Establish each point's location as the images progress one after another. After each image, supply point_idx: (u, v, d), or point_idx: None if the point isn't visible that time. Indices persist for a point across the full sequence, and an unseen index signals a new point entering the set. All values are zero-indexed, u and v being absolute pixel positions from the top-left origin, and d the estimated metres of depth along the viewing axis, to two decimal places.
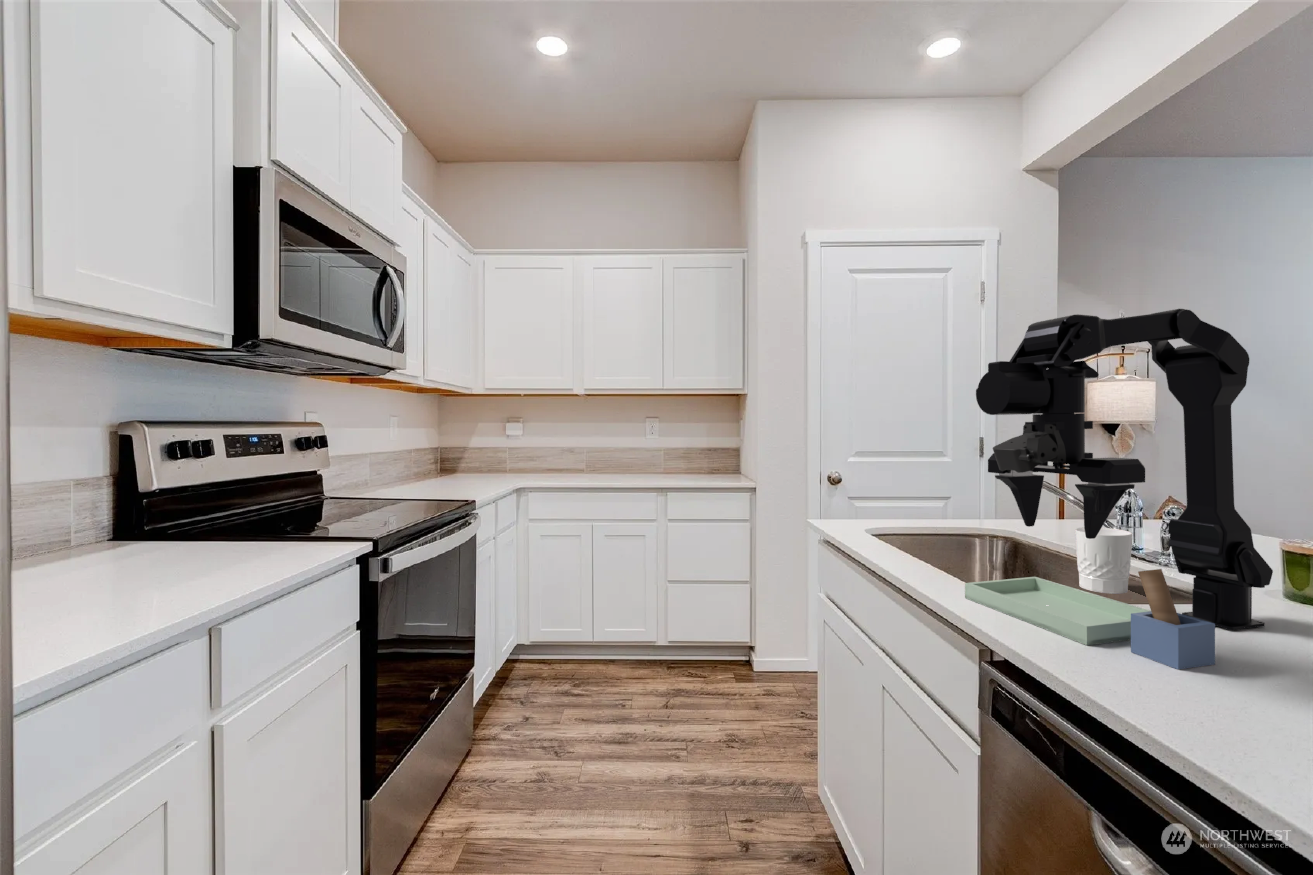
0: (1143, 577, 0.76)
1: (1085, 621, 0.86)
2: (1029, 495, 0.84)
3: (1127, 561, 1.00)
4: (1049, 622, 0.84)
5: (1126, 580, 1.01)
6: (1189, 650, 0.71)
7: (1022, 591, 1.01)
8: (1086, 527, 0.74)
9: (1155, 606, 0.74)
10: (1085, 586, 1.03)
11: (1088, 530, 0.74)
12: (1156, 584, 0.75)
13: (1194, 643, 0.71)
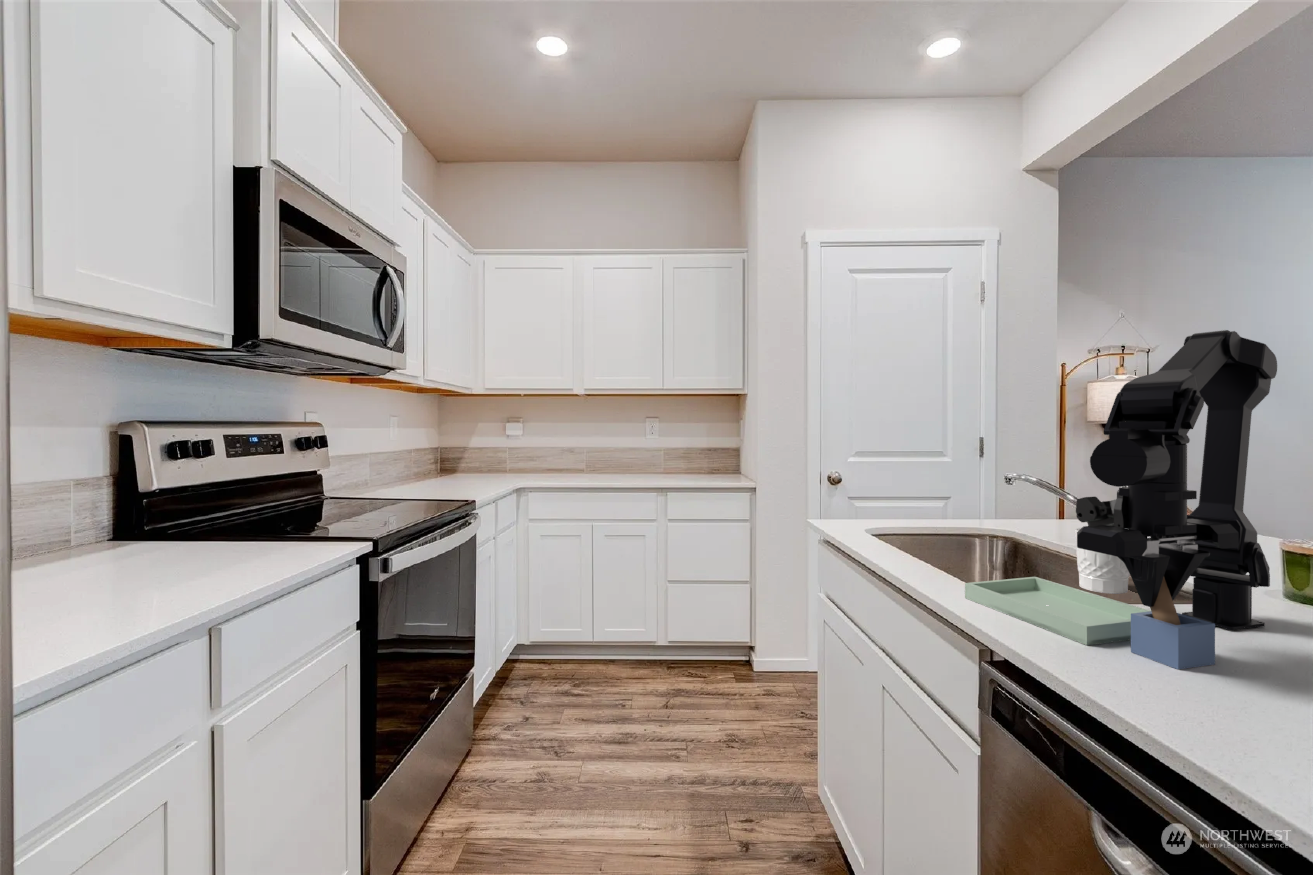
0: None
1: (1085, 621, 0.86)
2: (1167, 570, 0.75)
3: None
4: (1049, 622, 0.84)
5: (1126, 580, 1.01)
6: (1189, 650, 0.71)
7: (1022, 591, 1.01)
8: None
9: (1155, 606, 0.74)
10: (1085, 586, 1.03)
11: None
12: None
13: (1194, 643, 0.71)
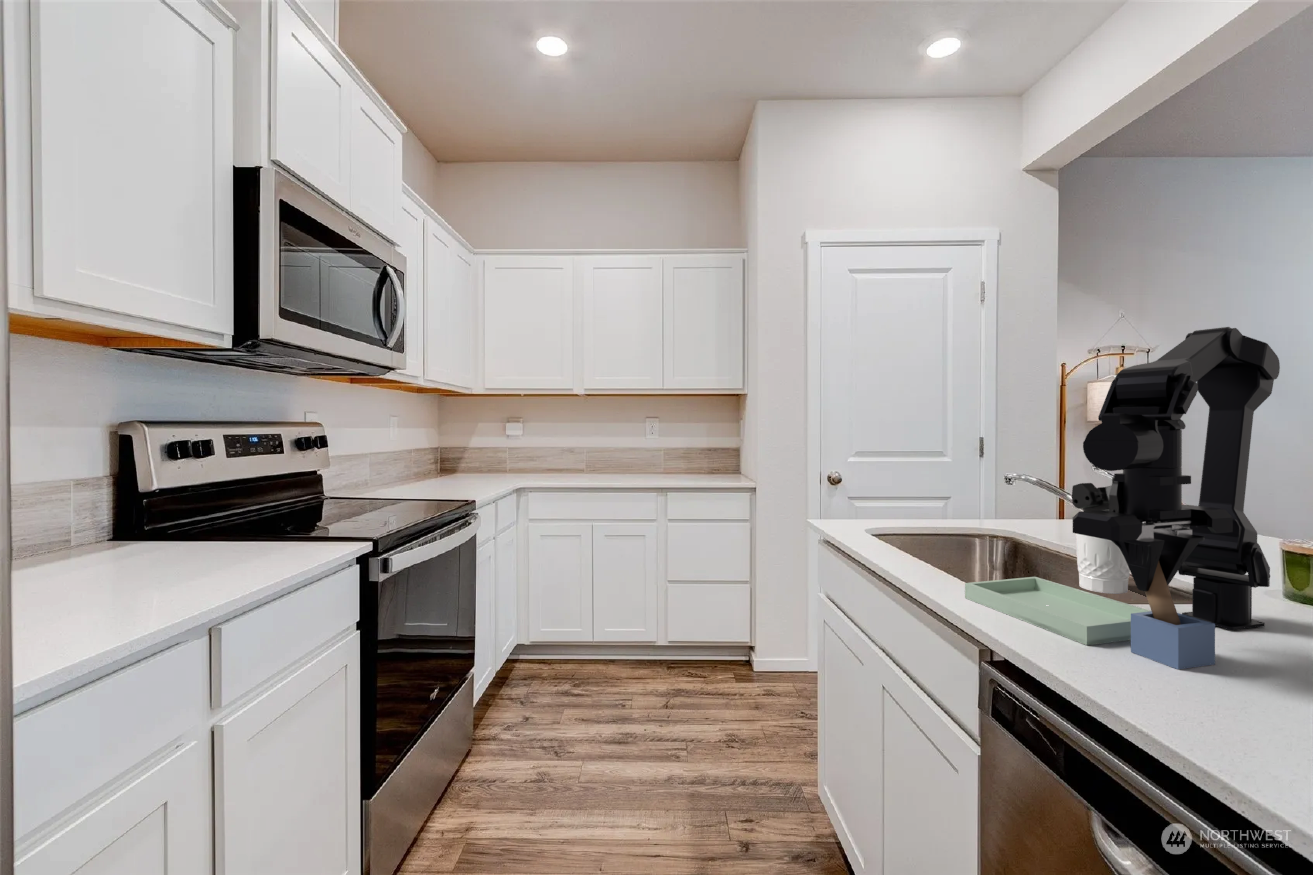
0: None
1: (1085, 621, 0.86)
2: (1162, 555, 0.76)
3: None
4: (1049, 622, 0.84)
5: (1126, 580, 1.01)
6: (1189, 650, 0.71)
7: (1022, 591, 1.01)
8: None
9: (1150, 591, 0.75)
10: (1085, 586, 1.03)
11: None
12: None
13: (1194, 643, 0.71)
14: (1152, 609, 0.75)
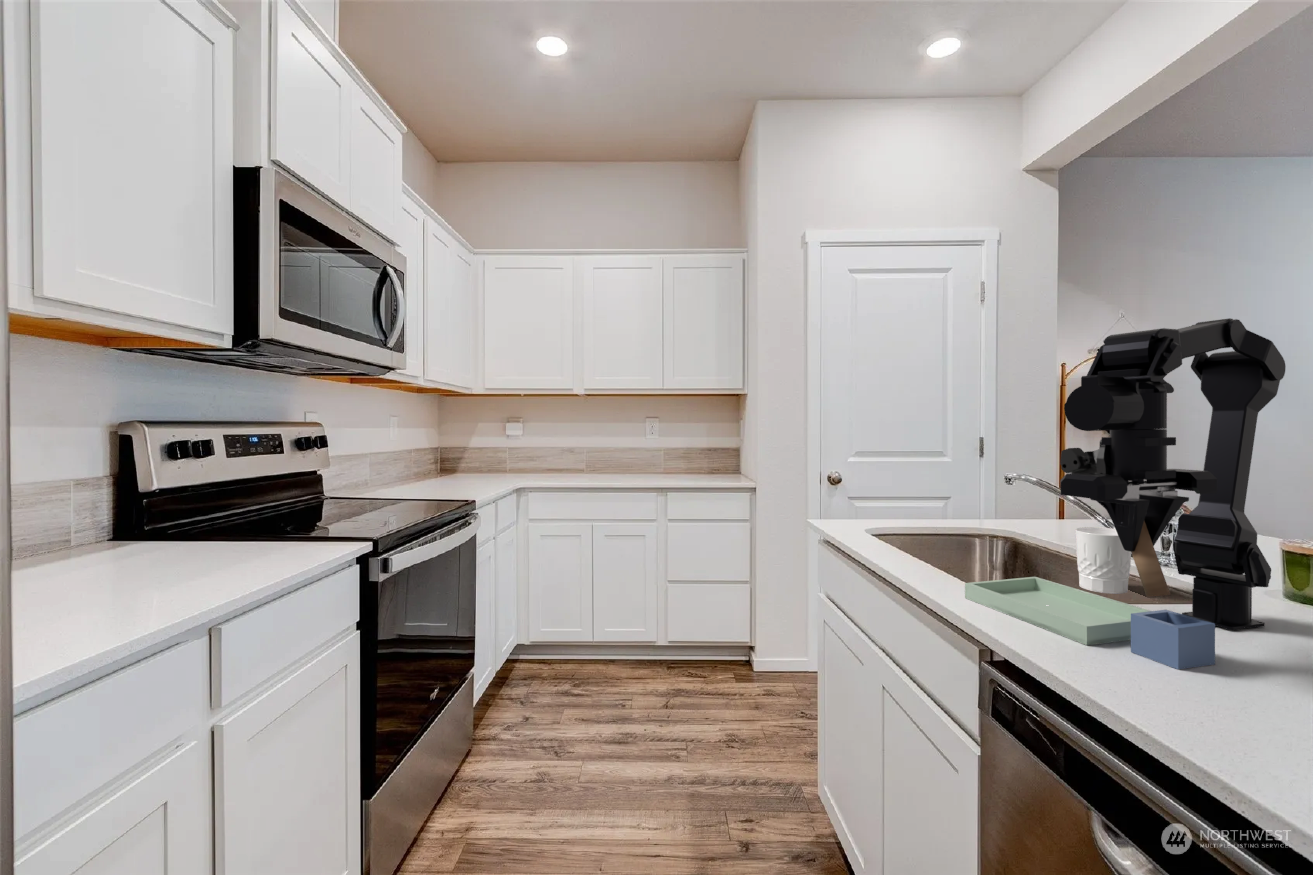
0: None
1: (1085, 621, 0.86)
2: (1148, 516, 0.78)
3: (1127, 561, 1.00)
4: (1049, 622, 0.84)
5: (1126, 580, 1.01)
6: (1189, 650, 0.71)
7: (1022, 591, 1.01)
8: (1122, 538, 0.78)
9: (1136, 551, 0.76)
10: (1085, 586, 1.03)
11: None
12: None
13: (1194, 643, 0.71)
14: (1138, 568, 0.76)
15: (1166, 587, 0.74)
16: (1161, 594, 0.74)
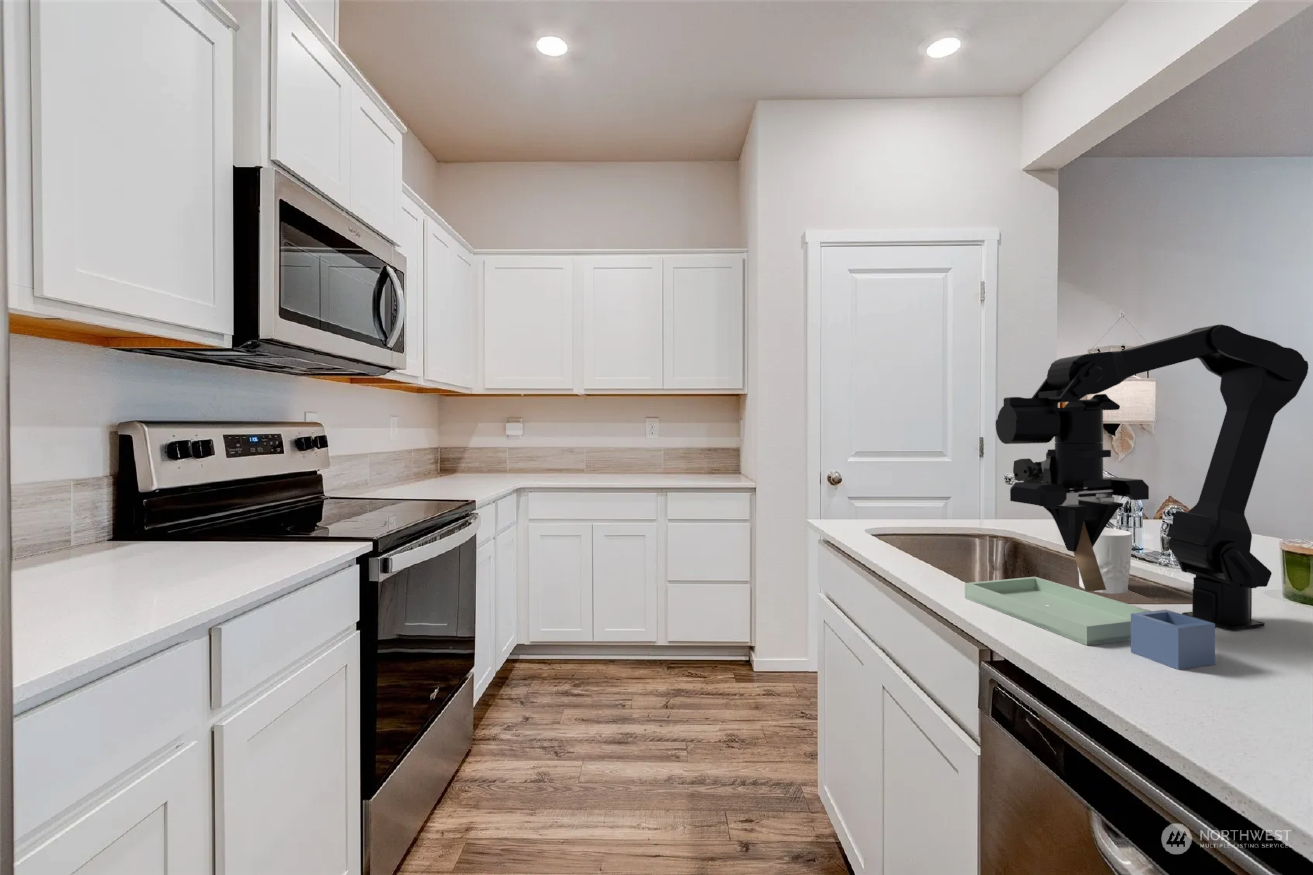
0: None
1: (1085, 621, 0.86)
2: (1088, 520, 0.87)
3: (1127, 561, 1.00)
4: (1049, 622, 0.84)
5: (1126, 580, 1.01)
6: (1189, 650, 0.71)
7: (1022, 591, 1.01)
8: None
9: (1077, 550, 0.86)
10: None
11: None
12: None
13: (1194, 643, 0.71)
14: (1079, 566, 0.86)
15: (1102, 583, 0.84)
16: (1097, 589, 0.83)
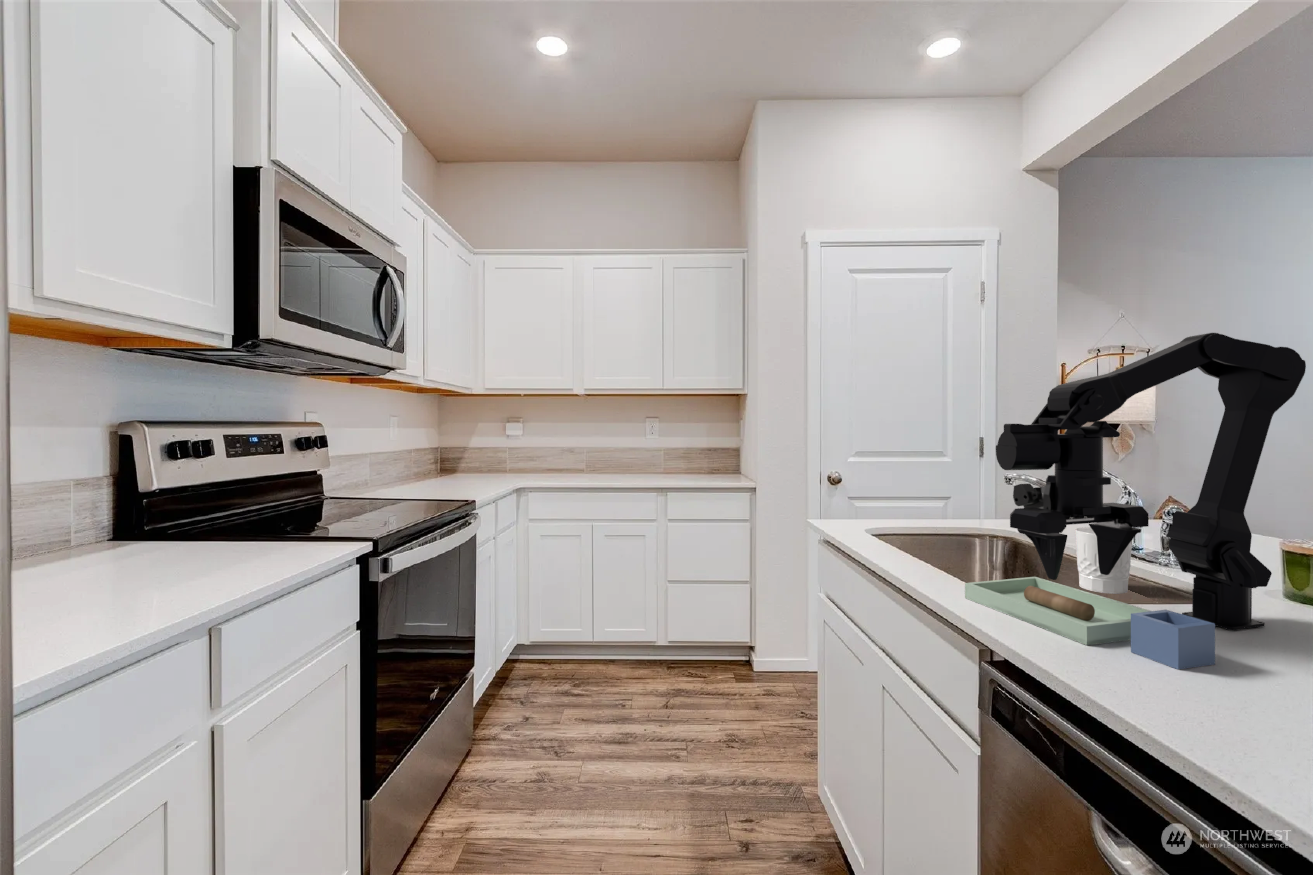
0: (1028, 594, 0.95)
1: (1085, 621, 0.86)
2: (1106, 545, 0.88)
3: (1127, 561, 1.00)
4: (1049, 622, 0.84)
5: (1126, 580, 1.01)
6: (1189, 650, 0.71)
7: (1022, 591, 1.01)
8: None
9: (1047, 599, 0.91)
10: (1085, 586, 1.03)
11: None
12: (1036, 590, 0.94)
13: (1194, 643, 0.71)
14: (1060, 608, 0.89)
15: None
16: (1084, 605, 0.86)
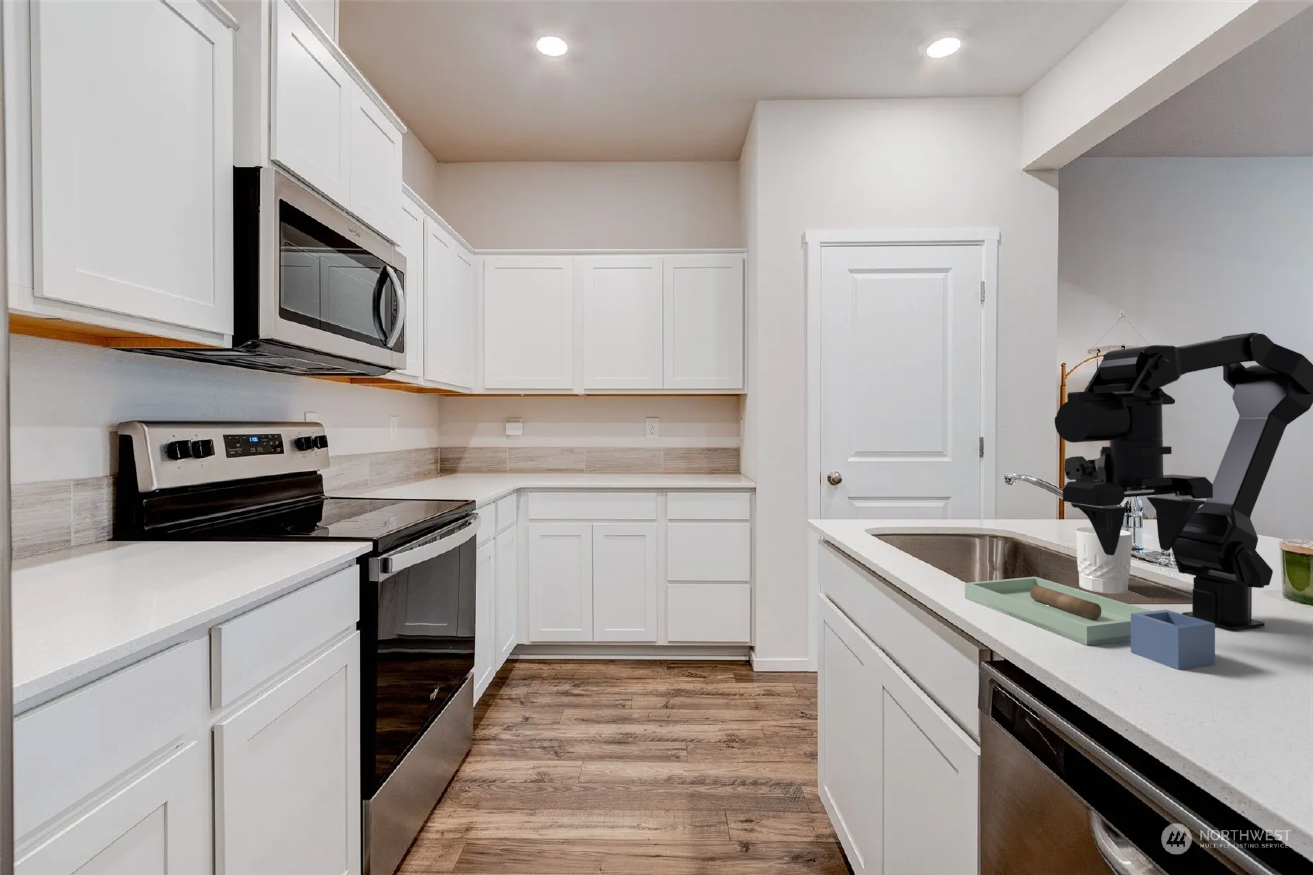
0: (1037, 587, 0.95)
1: (1085, 621, 0.86)
2: (1166, 518, 0.83)
3: (1127, 561, 1.00)
4: (1049, 622, 0.84)
5: (1126, 580, 1.01)
6: (1189, 650, 0.71)
7: (1022, 591, 1.01)
8: None
9: (1058, 593, 0.92)
10: (1085, 586, 1.03)
11: None
12: None
13: (1194, 643, 0.71)
14: (1068, 600, 0.89)
15: None
16: None
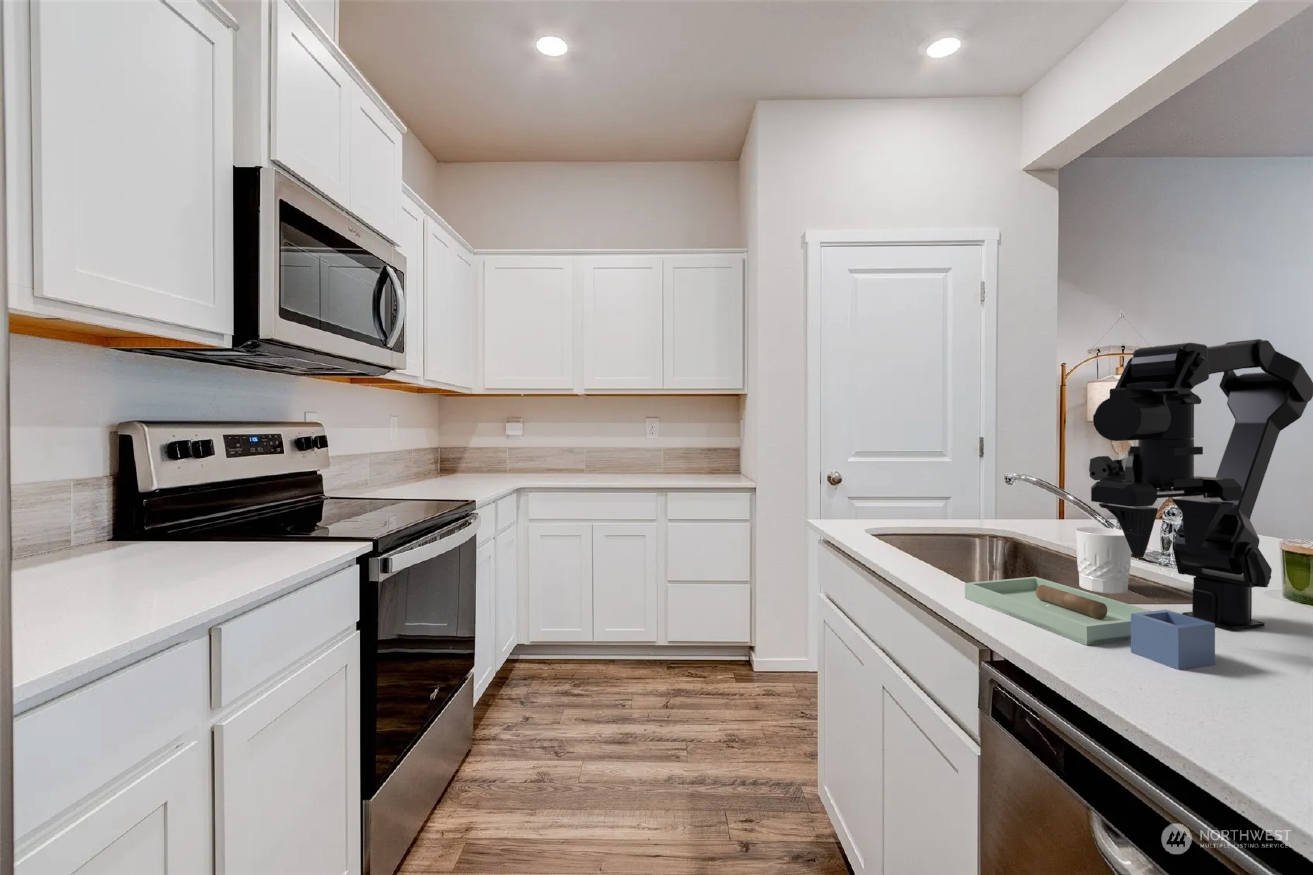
0: (1048, 586, 0.95)
1: (1085, 621, 0.86)
2: (1194, 521, 0.82)
3: (1127, 561, 1.00)
4: (1049, 622, 0.84)
5: (1126, 580, 1.01)
6: (1189, 650, 0.71)
7: (1022, 591, 1.01)
8: (1131, 545, 0.81)
9: None
10: (1085, 586, 1.03)
11: None
12: None
13: (1194, 643, 0.71)
14: (1079, 596, 0.90)
15: None
16: (1106, 608, 0.87)
